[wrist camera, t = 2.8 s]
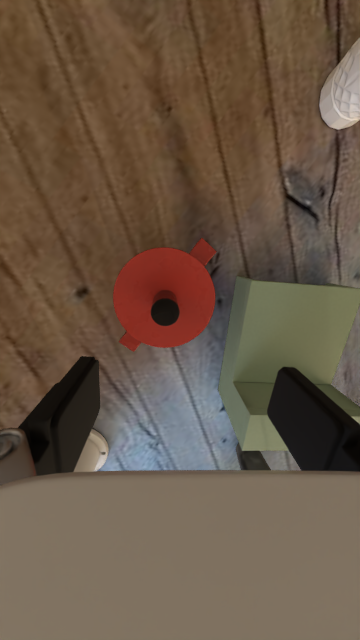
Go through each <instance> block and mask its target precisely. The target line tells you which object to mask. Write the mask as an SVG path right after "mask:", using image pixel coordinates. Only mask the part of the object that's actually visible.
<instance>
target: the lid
mask: <svg viewBox="0 0 360 640" xmlns="http://www.w3.org/2000/svg"><path fill="white" fill-rule="evenodd" d="M113 302H114V308H115V312H116V315H117V317H118V319H119V321H120V323H121V324H122V326H123V327H124V328H125V330H126V331H127V332H128V333H129V334H130V335H131V336H133V337H134V338H135V339H137V340H139V341H140V342H142V343H145V344H147V345H150V346H155V347H163V348H166V347H175V346H179V345H182V344H185V343H187V342H189V341H191V340H192V339H194V338H195V337H196V336H198V335H199V334H200V333H201V332H202V331H203V330H204V328H205V327H206V326H207V324H208V323H209V321H210V319H211V317H212V314H213V311H214V306H215V289H214V285H213V282H212V279H211V277H210V275H209V273H208V271H207V270H206V269H205V267H204V266H203V265H202V264H201V263H200V262H199V261H198V260H197V259H196V258H195V257H193V256H192V255H190V254H188V253H186V252H184V251H181V250H178V249H174V248H167V247H163V248H154V249H150V250H146V251H144V252H142V253H140V254H138V255H136V256H135V257H133V258H132V259H131V260H130V261H129V262H127V264H126V265H125V266H124V267H123V268H122V270H121V272H120V273H119V275H118V277H117V279H116V283H115V286H114V292H113Z"/></svg>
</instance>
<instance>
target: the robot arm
mask: <svg viewBox="0 0 360 640" xmlns="http://www.w3.org/2000/svg"><path fill="white" fill-rule="evenodd" d="M99 409H100V387H99V362H98V360H95V358H94V357H86V356H81V357H80V358H79V360H78V361H77V362H76V363H75V364H74V366H73V367H72V368H71V369H70V370H69V372H68V373H67V374H66V375H65V376H64V378H63V379H62V380H61V381H60V383H57V384H55V385H54V386H53V387H52V389H51V390H50V391H49V392H48V393H47V394H46V396H45V397H44V398H43V399H42V400H41V401H40V403H39V404H38V405H37V406H36V407H35V408H34V410H33V411H32V412H31V413H30V414H29V416H28V417H27V418H26V419H25V420H24V421H23V423H22V424H21V425H20V426H19V427H18V428H7V429H2V430H0V640H360V424H359V423H358V422H357V421H355V420H354V419H353V418H352V417H351V416H350V415H349V414H347V413H346V412H345V411H344V410H343V409H342V408H341V407H340V406H338V405H337V404H336V403H335V402H334V401H333V400H332V399H330V398H329V397H328V396H327V395H326V394H325V393H324V392H323V391H321V390H320V389H319V388H318V387H317V386H316V385H315V384H313V383H312V382H311V381H310V380H309V379H308V378H307V377H305V376H304V375H303V374H302V373H301V372H300V371H299V370H298V369H296V368H295V367H282V368H281V369H280V370H279V371H278V373H277V377H276V380H275V384H274V387H273V391H272V394H271V398H270V401H269V405H268V409H267V415H268V417H269V419H270V421H271V422H272V424H273V426H274V427H275V429H276V430H277V432H278V434H279V435H280V437H281V438H282V440H283V442H284V443H285V445H286V446H287V448H288V450H289V451H290V453H291V454H292V456H293V458H294V459H295V461H296V462H297V464H298V466H299V467H300V469H301V470H302V471H279V470H168V471H96V470H98V469H99V468H101V467H102V466H103V464H104V463H105V461H106V459H107V456H108V444H107V442H106V440H105V438H104V437H103V436H102V435H101V434H100V433H99V432H97V431H95V430H94V429H92V427H93V425H94V422H95V420H96V418H97V415H98V413H99Z"/></svg>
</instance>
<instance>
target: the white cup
mask: <svg viewBox="0 0 360 640" xmlns="http://www.w3.org/2000/svg"><path fill="white" fill-rule="evenodd" d="M319 107H320V112H321V117H322V119H323V120H324V121H325V123H326V124H327V125H328V126H329V127H331V128H334V129H337V130H339V129H343V128H347V127H350V126H351V125H353V124H355V123H356V122H358V121H359V120H360V37H359V39H358V40H357V41H356V42H355V43H354V45H353V46H352V47H351V48H350V50H349V51H348V52H347V54H346V55H345V56H344V58H343V59H342V60H341V62H340V63H339V64H338V65H337V66H336V68H335V69H334V70H333V71H332V72H331V73H330V75H329V76H328V78H327V80H326V82H325V84H324V86H323V88H322V90H321V95H320V102H319Z"/></svg>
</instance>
